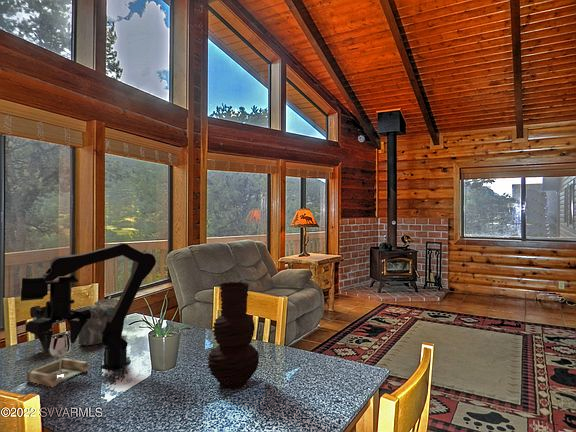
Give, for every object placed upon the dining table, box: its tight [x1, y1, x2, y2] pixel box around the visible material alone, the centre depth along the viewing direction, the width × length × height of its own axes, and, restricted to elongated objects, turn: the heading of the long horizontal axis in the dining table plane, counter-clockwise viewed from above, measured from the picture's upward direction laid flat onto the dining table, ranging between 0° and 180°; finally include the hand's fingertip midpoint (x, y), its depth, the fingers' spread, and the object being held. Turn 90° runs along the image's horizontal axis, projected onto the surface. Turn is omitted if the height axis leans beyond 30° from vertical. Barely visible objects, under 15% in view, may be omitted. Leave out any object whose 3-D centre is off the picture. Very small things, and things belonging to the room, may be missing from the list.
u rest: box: [26, 357, 89, 388], centre depth 120 cm, size 10×12×3 cm
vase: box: [207, 281, 260, 391], centre depth 116 cm, size 15×15×30 cm
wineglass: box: [49, 333, 72, 378], centre depth 120 cm, size 6×6×12 cm
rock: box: [77, 298, 119, 346], centre depth 157 cm, size 21×16×10 cm
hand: (60, 347), depth 120 cm, fingers open, 9 cm apart
